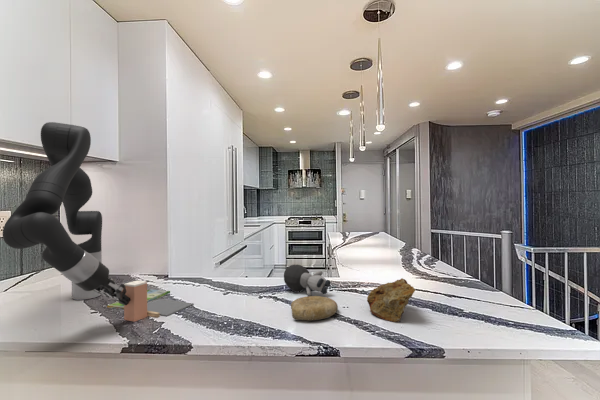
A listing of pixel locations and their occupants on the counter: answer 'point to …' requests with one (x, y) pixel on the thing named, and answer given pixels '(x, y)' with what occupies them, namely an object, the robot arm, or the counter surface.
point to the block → (136, 301)
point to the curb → (153, 314)
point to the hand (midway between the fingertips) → (127, 302)
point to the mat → (167, 306)
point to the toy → (305, 280)
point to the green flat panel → (150, 296)
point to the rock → (390, 299)
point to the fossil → (313, 308)
